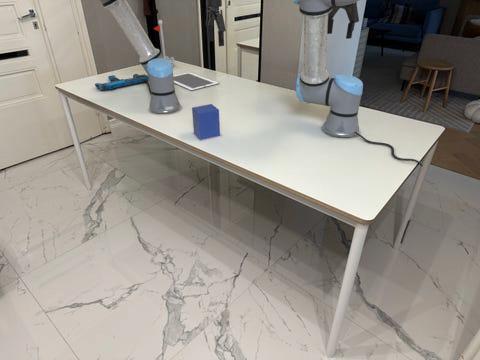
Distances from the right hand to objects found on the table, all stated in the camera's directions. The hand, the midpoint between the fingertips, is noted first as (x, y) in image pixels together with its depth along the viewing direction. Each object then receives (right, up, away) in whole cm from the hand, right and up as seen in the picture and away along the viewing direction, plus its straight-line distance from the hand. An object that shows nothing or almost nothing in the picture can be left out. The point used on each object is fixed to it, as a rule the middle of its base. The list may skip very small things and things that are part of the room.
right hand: (338, 36), depth 162 cm
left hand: (-60, +2, +14) cm, 62 cm away
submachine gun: (-119, -9, +46) cm, 128 cm away
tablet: (-78, -8, +49) cm, 92 cm away
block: (-62, -49, -15) cm, 80 cm away
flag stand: (-100, +12, +78) cm, 127 cm away
